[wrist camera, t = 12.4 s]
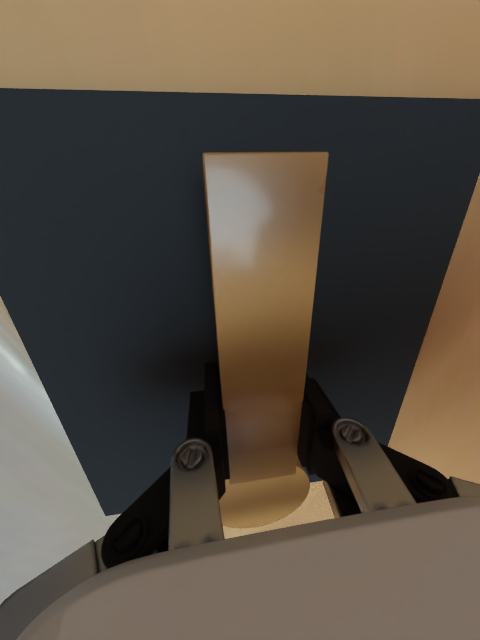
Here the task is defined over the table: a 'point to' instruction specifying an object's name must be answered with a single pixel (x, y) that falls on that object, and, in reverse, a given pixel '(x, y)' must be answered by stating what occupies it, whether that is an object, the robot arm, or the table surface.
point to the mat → (194, 258)
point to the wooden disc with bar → (263, 318)
